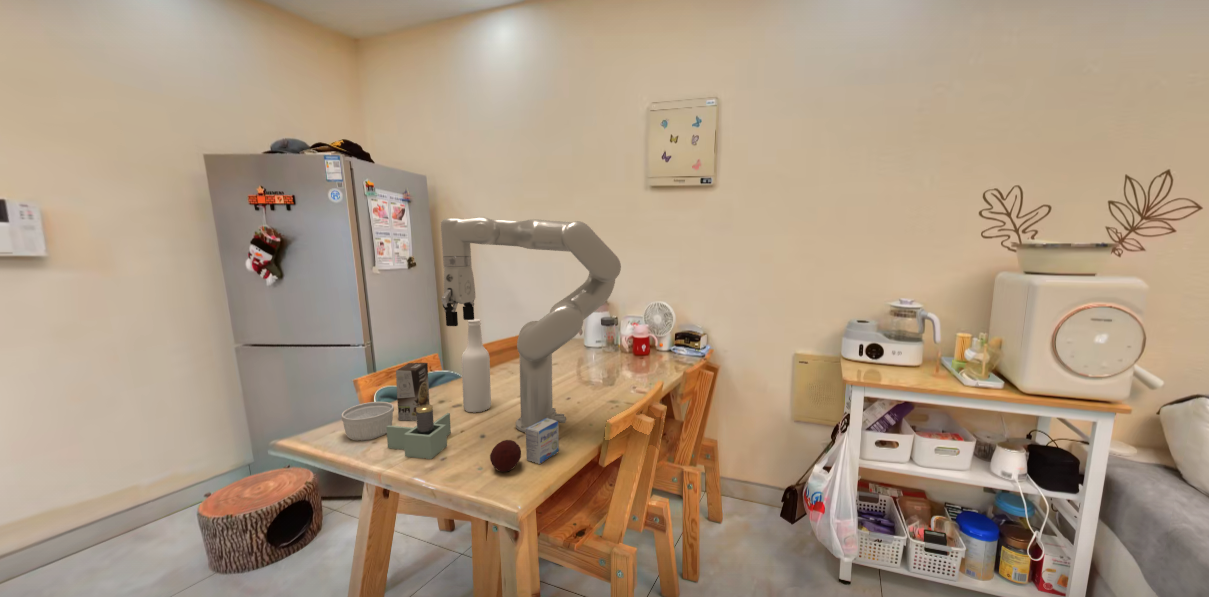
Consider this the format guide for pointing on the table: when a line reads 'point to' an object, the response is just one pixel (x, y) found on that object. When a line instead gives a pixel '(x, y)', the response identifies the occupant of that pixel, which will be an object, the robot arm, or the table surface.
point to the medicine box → (542, 440)
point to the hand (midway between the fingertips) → (460, 322)
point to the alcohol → (476, 371)
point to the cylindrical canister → (425, 419)
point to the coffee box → (412, 389)
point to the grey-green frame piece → (420, 439)
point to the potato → (505, 455)
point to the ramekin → (367, 420)
